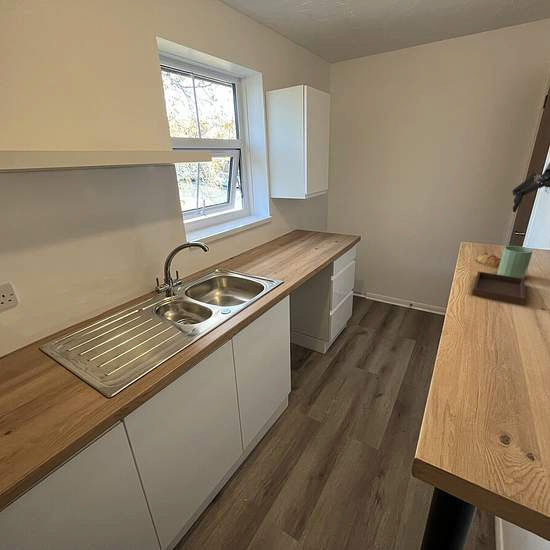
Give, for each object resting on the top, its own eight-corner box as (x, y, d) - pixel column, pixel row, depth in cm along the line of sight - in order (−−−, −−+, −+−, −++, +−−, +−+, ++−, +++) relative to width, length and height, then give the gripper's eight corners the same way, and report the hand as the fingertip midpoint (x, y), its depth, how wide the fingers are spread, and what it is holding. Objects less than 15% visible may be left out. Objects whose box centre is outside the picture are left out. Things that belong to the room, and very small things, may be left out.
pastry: (507, 266, 121) (510, 258, 120) (495, 269, 120) (497, 260, 118) (486, 259, 130) (488, 251, 128) (474, 261, 128) (476, 253, 126)
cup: (516, 273, 115) (524, 245, 111) (528, 281, 108) (537, 252, 104) (492, 272, 117) (499, 245, 113) (503, 281, 109) (511, 252, 105)
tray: (476, 278, 113) (478, 271, 112) (522, 286, 105) (524, 278, 104) (471, 296, 100) (473, 288, 99) (523, 306, 92) (525, 298, 91)
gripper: (607, 173, 105) (582, 224, 102) (520, 170, 123) (497, 213, 121) (611, 158, 99) (584, 211, 97) (520, 158, 118) (496, 202, 116)
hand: (536, 212), depth 109 cm, fingers open, 13 cm apart
